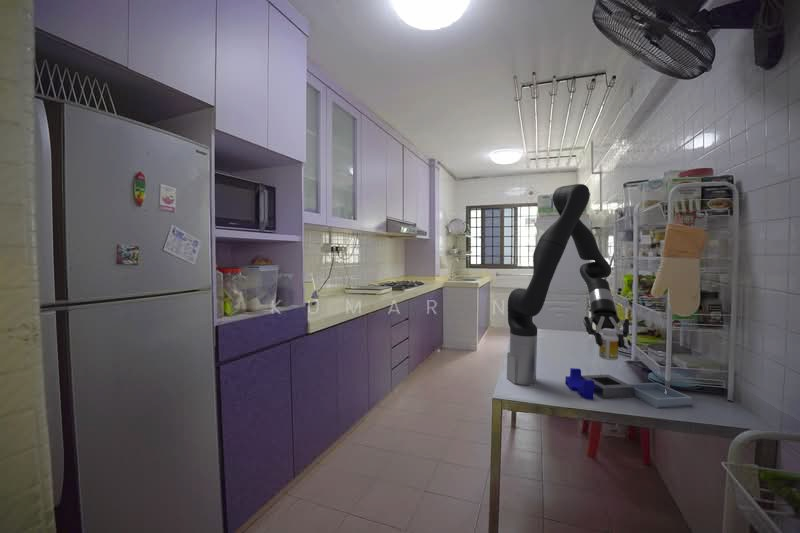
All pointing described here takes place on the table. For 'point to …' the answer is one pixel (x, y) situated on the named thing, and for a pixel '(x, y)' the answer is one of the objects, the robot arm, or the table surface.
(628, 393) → the tray
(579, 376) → the blue stepped block
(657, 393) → the tray
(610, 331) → the supplement bottle
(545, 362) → the table surface
